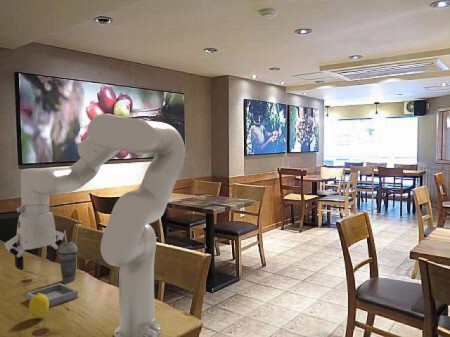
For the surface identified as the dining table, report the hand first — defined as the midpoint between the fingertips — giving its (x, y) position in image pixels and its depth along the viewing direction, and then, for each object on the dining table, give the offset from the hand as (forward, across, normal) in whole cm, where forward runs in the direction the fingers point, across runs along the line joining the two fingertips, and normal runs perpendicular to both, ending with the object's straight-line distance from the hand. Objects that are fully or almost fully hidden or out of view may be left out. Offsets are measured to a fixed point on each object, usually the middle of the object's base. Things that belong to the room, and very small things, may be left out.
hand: (36, 265), depth 115 cm
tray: (+17, +10, +11) cm, 23 cm away
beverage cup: (+17, +23, +24) cm, 38 cm away
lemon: (+17, 0, 0) cm, 17 cm away
